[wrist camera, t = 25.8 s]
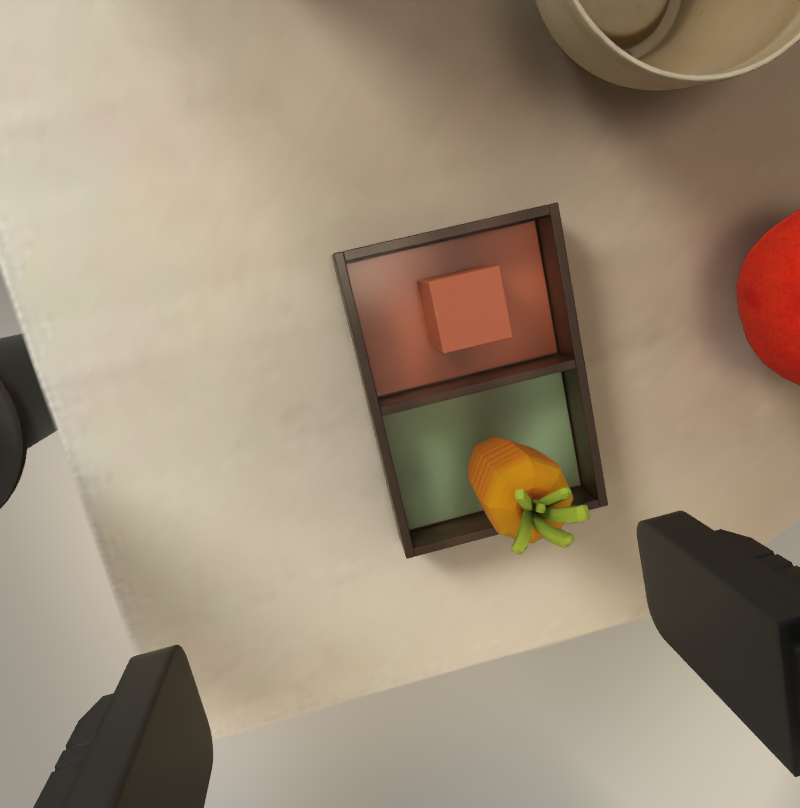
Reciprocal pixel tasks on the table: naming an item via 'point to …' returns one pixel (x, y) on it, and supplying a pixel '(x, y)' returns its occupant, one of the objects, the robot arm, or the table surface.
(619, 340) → the table surface
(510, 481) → the carrot
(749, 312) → the apple
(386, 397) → the sorting tray
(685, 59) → the planter bowl
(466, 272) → the terracotta block
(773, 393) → the table surface
